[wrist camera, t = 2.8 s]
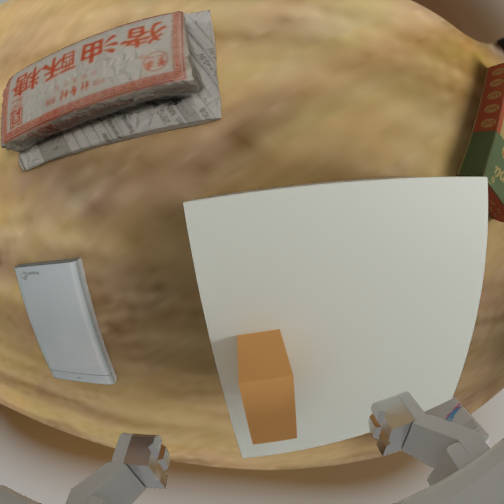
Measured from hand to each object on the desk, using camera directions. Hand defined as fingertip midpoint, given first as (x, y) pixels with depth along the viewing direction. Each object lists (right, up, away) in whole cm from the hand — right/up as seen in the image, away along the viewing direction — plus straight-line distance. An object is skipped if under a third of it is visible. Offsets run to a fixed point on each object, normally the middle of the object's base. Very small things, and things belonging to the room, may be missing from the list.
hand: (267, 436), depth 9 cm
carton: (+26, +19, +11) cm, 34 cm away
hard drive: (-18, 0, +14) cm, 23 cm away
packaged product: (-12, +20, +9) cm, 25 cm away
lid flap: (+6, +2, +6) cm, 8 cm away
